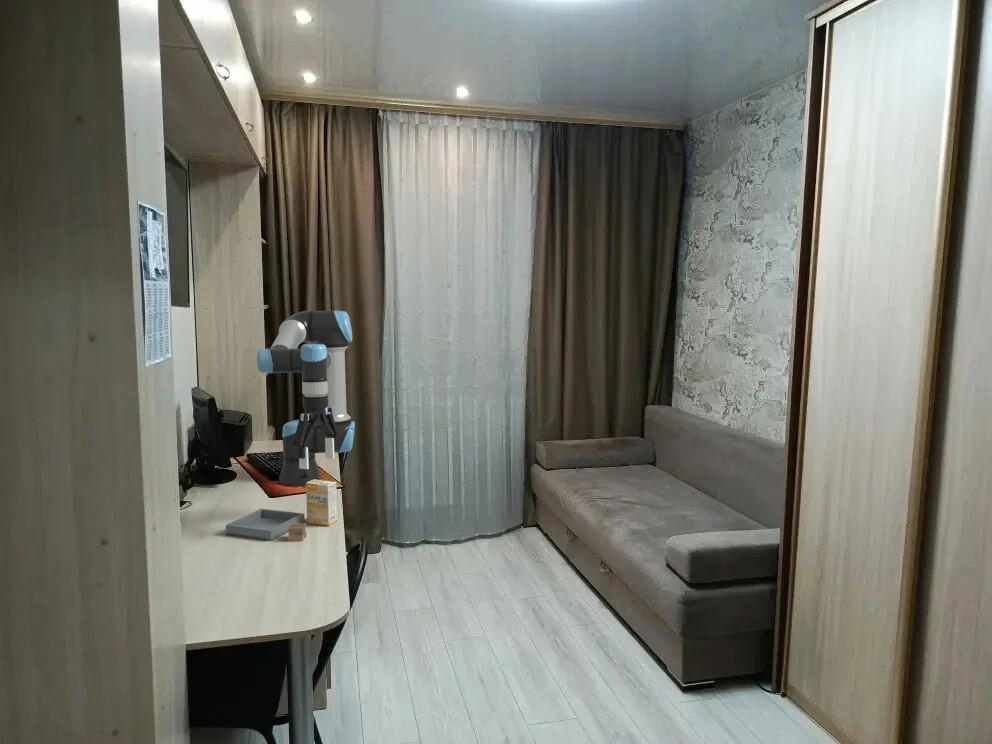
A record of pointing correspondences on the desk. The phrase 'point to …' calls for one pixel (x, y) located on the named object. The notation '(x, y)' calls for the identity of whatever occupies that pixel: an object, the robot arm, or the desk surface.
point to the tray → (264, 524)
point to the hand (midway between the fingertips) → (317, 463)
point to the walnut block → (297, 532)
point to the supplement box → (321, 502)
